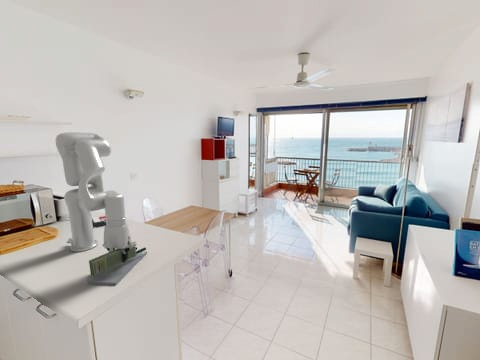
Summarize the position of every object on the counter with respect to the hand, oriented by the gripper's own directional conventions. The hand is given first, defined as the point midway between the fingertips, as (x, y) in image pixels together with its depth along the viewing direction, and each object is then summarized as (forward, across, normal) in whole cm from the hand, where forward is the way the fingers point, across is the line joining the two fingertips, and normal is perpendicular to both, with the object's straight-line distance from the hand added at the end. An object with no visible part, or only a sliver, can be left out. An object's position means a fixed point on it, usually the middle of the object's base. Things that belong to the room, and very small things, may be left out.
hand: (119, 260), depth 105 cm
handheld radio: (+1, +1, 0) cm, 1 cm away
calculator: (+4, -42, +53) cm, 68 cm away
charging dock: (+3, 0, 0) cm, 3 cm away
